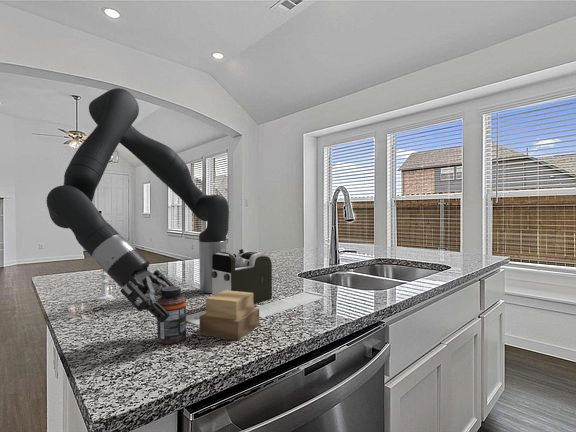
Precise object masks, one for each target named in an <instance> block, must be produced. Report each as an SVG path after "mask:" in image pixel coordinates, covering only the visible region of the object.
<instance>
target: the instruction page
mask: <svg viewBox="0 0 576 432" xmlns="http://www.w3.org/2000/svg"><path fill="white" fill-rule="evenodd" d="M204 314H206V309H205V310H203V311H198V312H196V313H192V314H189V315H186V323H190V324H192V325H196V326H200V316H202V315H204Z"/></svg>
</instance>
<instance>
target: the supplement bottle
mask: <svg viewBox="0 0 576 432" xmlns="http://www.w3.org/2000/svg"><path fill="white" fill-rule="evenodd" d="M161 295H162V296H160V297H159V298H158V299H157V300H156V303H157V302H158V303H159V304H160V305H161V306H162V307H163V308H164V309H165V310H166V311H167V312H168V313H169V317H168V318H167V319H166V320H165V321H164V322H160V321H159V320H158V319H157V318H156V319H157V320H156V322H157V323H156V324H157V331H156V333H157V341H158V342H159V343H160V344H164V345H170V344H171V345H173V344H178V343H180V342H182V341H184V340H186V338H187V321H186V316H187V307H186V306H187V305H186V304H187V303H186V298H185V297H184V296H183V295H182V291H181V286H178V285H174V286H169V287H164V288H162V289H161Z"/></svg>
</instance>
